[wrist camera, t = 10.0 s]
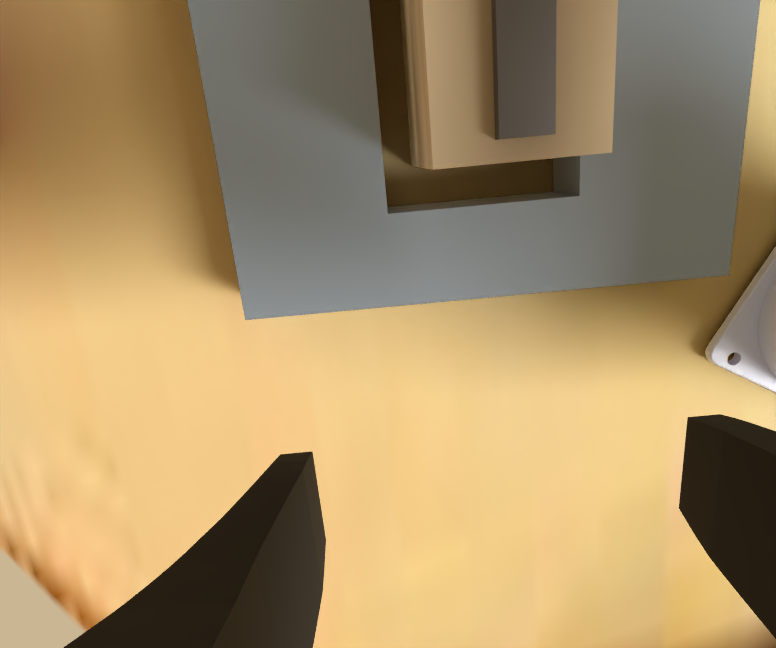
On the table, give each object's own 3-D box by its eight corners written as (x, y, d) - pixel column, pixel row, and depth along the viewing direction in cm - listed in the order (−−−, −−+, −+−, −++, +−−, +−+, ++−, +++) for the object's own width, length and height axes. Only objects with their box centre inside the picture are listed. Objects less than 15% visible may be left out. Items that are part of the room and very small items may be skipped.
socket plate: (726, -210, 15) (792, -280, 13) (685, 261, 19) (729, 275, 17) (183, -157, 15) (147, -217, 13) (261, 300, 19) (245, 320, 17)
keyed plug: (522, -44, 16) (635, -198, 9) (524, 155, 18) (620, 152, 11) (396, -31, 16) (414, -177, 9) (411, 166, 18) (435, 170, 11)
